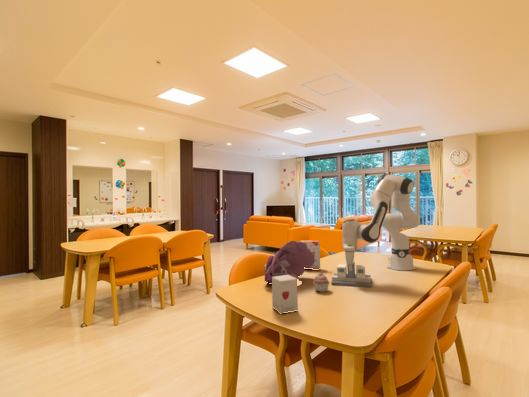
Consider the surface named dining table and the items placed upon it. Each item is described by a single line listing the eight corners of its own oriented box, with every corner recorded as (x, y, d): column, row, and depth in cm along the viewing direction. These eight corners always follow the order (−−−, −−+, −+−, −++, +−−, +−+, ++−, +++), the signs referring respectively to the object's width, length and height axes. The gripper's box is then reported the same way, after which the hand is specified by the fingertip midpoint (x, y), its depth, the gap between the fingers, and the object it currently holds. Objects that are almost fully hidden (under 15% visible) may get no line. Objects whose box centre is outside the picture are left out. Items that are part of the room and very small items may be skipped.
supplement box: (280, 315, 125) (279, 281, 126) (272, 308, 134) (271, 276, 134) (298, 311, 129) (297, 278, 129) (289, 305, 137) (288, 274, 138)
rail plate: (334, 276, 186) (334, 262, 186) (370, 278, 179) (369, 263, 179) (331, 284, 168) (330, 269, 168) (371, 287, 161) (370, 270, 161)
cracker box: (299, 269, 208) (298, 241, 208) (301, 268, 213) (300, 240, 214) (319, 271, 202) (317, 241, 203) (320, 269, 208) (319, 240, 208)
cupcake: (311, 292, 155) (310, 274, 155) (314, 287, 164) (313, 270, 164) (328, 294, 152) (328, 275, 152) (331, 288, 160) (330, 271, 161)
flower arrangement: (288, 301, 157) (293, 252, 152) (253, 287, 169) (256, 242, 164) (313, 279, 186) (318, 238, 181) (281, 269, 198) (285, 230, 193)
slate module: (348, 276, 177) (347, 261, 177) (355, 276, 176) (354, 261, 176) (347, 278, 171) (347, 263, 171) (354, 279, 170) (354, 263, 170)
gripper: (345, 243, 185) (346, 264, 184) (343, 248, 165) (344, 272, 165) (356, 243, 182) (356, 265, 182) (354, 248, 163) (355, 273, 163)
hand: (351, 268), depth 174 cm, fingers open, 8 cm apart
